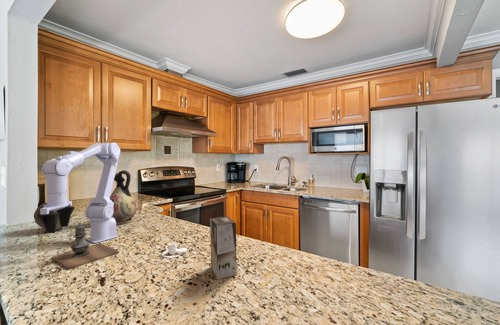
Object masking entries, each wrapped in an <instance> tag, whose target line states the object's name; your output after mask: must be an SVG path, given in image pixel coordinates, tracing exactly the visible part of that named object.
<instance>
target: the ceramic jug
mask: <svg viewBox="0 0 500 325" xmlns="http://www.w3.org/2000/svg"><path fill="white" fill-rule="evenodd" d="M123 175H124V176H125V177H126V180H125V178H124V177H123ZM113 182H115V183H116V186H115V188H114V190H113V191H111V194H110V198H109V199H110V200H111V201H112V202H113V203H114V206H113V209H114V212H113V215H112V217H113V218H114V219H115V221H116V225H122V224H123V225H124V224H127V223H130V222H132V221H133V217H134V216H135V214H136V213H137V202H136V200H135V198H134V196H133V195H132V193H131V192H130V189H129V188H130V183H131V173H130V172H129V171H128V170H125V169H124V170H119V171H118V172H116V173H115V177H114V181H113ZM124 182H125V185H124Z"/></svg>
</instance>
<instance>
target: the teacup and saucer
mask: <svg viewBox="0 0 500 325" xmlns="http://www.w3.org/2000/svg"><path fill="white" fill-rule="evenodd" d="M177 247H178V245H177V242H175V241H173V242H169V243H167V244H166V245H165V251H163V252H162V253H161V256H162V257H163V258H167V259H169V258H171V259H172V258H176V257H180V256H181V255H183V254H185V253H186V252H187V251H188V250H187V248H186V247H182V248H177ZM166 252H167V253H169V255H170V256H168V255H166V254H167V253H166ZM176 253H177V255H176ZM172 255H173V256H172Z"/></svg>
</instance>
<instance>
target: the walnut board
mask: <svg viewBox="0 0 500 325" xmlns="http://www.w3.org/2000/svg"><path fill="white" fill-rule="evenodd" d="M86 251H88V252H89V254H87V255H85V256H82V257H72V255H73V254H74V253H75V252H73V251H72V250H71V251H67V252H63V253H60V254H57V255H53V256H51V260H53V261H55V262H56V263H58V264H59V265H61V266H62V267H64V268H65V269H67V270H68V271H69V270H73V269H75V268H79V267H81V266H84V265H87V264H89V263H93V262H95V261H99V260H102V259H105V258H108V257H111V256H113V255H117V254H119V253H120V250H118V249H115V248H113V247H110V246H108V245H106V244H103V243H101V242H98V243H94V244H92V245H89V247H88V249H87V250H86Z"/></svg>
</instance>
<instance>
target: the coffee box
mask: <svg viewBox="0 0 500 325" xmlns="http://www.w3.org/2000/svg"><path fill="white" fill-rule="evenodd" d="M209 227H210V228H209V231H210V233H209V234H210V235H209V236H210V237H209V238H210V267H211V270H212V271H213V273H214V275H215V277H216V279H217V280H220V279H223V278H229V277H233V276H237V272H238V267H237V264H238V262H237V261H238V260H237V222H235V221H234V220H233V219H231V218H230V217H229V216H218V217H213V218H211V217H210V218H209Z"/></svg>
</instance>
